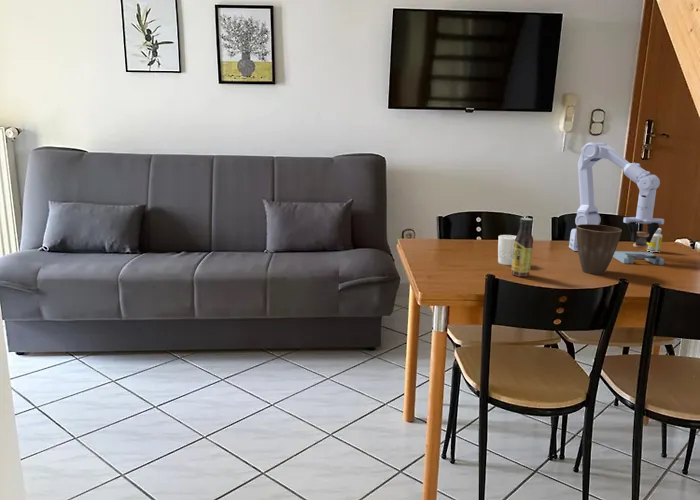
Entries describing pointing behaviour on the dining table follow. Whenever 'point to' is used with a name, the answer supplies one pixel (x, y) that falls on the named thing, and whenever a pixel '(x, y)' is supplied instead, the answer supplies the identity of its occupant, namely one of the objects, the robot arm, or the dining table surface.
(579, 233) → the plant pot
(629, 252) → the notched board
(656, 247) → the supplement bottle
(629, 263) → the hook bar
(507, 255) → the white cup
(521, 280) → the dining table surface
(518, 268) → the sauce bottle
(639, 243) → the spool
